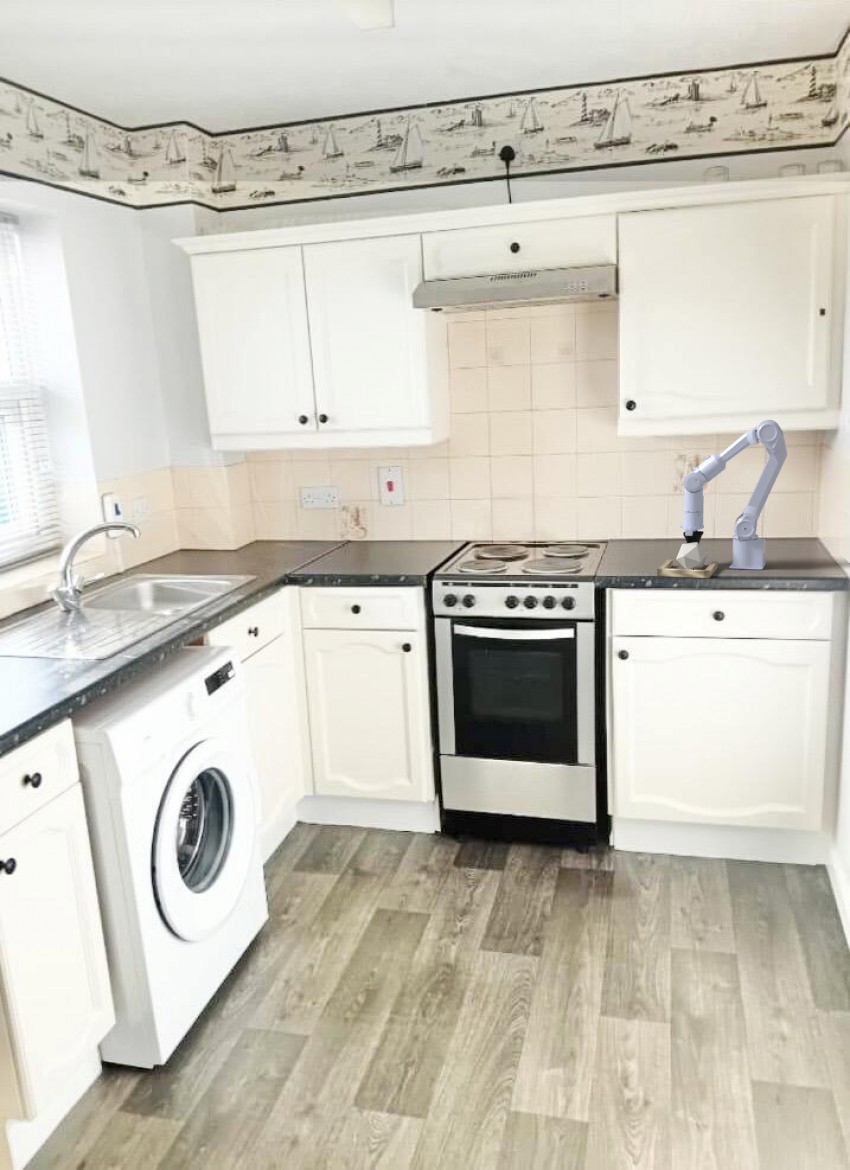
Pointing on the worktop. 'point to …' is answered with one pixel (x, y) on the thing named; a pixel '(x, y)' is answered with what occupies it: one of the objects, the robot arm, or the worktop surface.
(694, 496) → the robot arm
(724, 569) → the worktop surface
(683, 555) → the die
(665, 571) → the corral
